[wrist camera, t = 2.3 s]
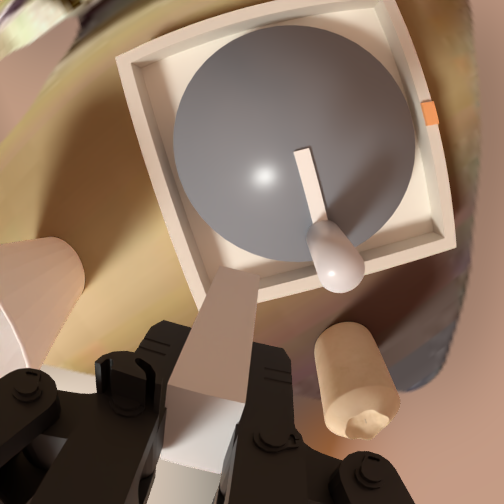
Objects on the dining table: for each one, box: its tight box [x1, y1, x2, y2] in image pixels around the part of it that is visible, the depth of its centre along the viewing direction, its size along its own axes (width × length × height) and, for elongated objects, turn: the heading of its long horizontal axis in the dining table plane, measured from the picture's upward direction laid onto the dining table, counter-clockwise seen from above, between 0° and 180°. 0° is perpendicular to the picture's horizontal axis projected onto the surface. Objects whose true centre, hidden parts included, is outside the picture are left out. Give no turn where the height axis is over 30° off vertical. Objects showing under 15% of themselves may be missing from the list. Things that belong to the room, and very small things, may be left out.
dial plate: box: [115, 0, 456, 310], centre depth 21 cm, size 20×20×4 cm
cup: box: [0, 237, 85, 378], centre depth 21 cm, size 12×12×12 cm
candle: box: [314, 322, 400, 440], centre depth 23 cm, size 6×6×10 cm
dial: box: [173, 25, 415, 293], centre depth 17 cm, size 16×16×8 cm
